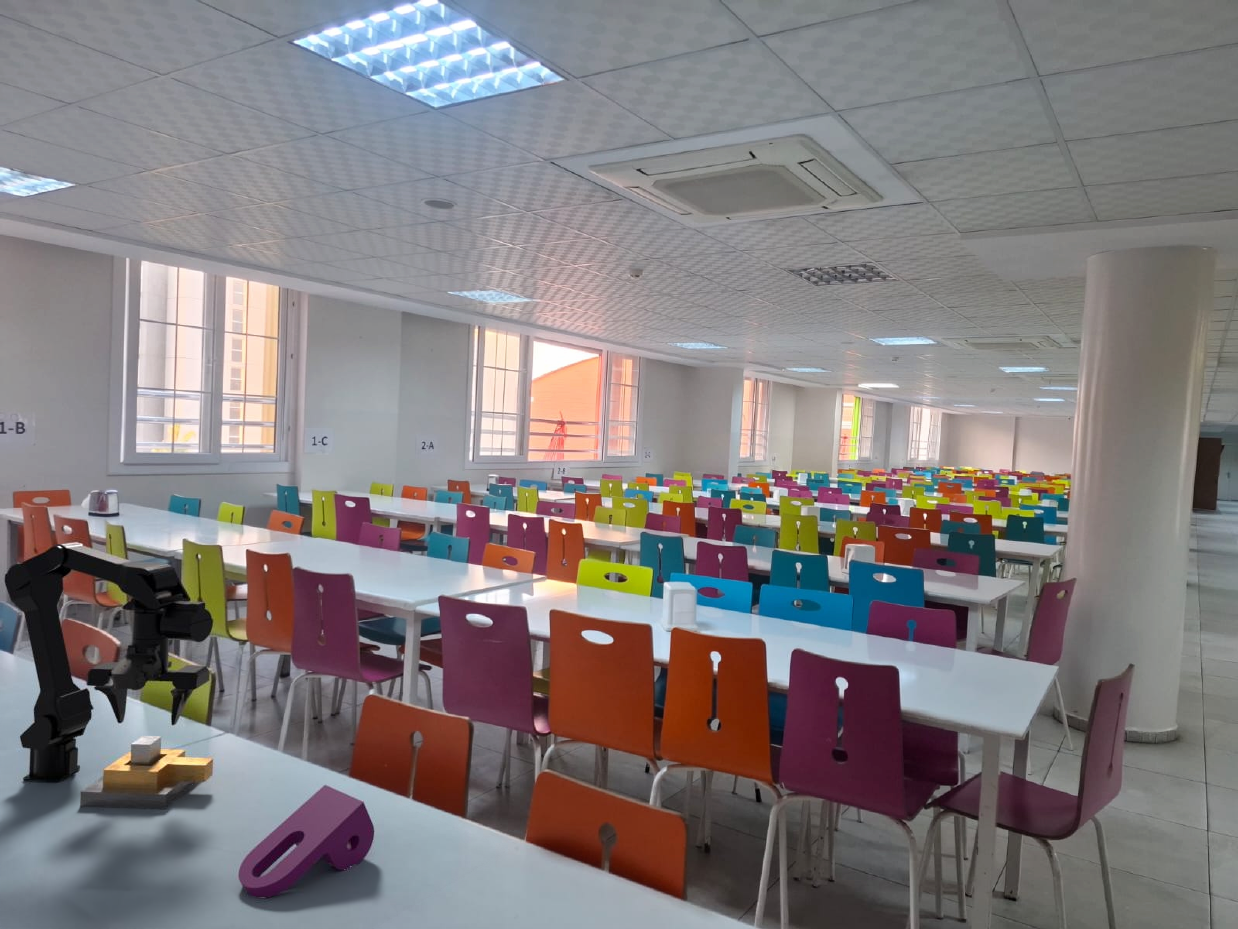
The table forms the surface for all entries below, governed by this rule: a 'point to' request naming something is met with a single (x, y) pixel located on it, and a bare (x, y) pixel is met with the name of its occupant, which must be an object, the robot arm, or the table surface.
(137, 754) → the grey rectangular block
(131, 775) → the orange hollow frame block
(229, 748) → the table surface
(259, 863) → the mounting bracket
